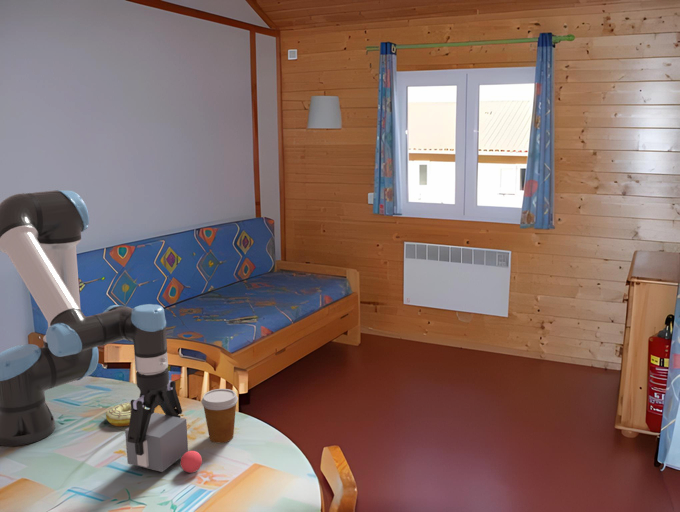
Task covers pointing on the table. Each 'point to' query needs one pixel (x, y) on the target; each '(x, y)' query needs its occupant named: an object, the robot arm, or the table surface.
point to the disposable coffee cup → (220, 414)
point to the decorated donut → (119, 414)
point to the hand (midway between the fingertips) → (158, 454)
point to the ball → (191, 461)
